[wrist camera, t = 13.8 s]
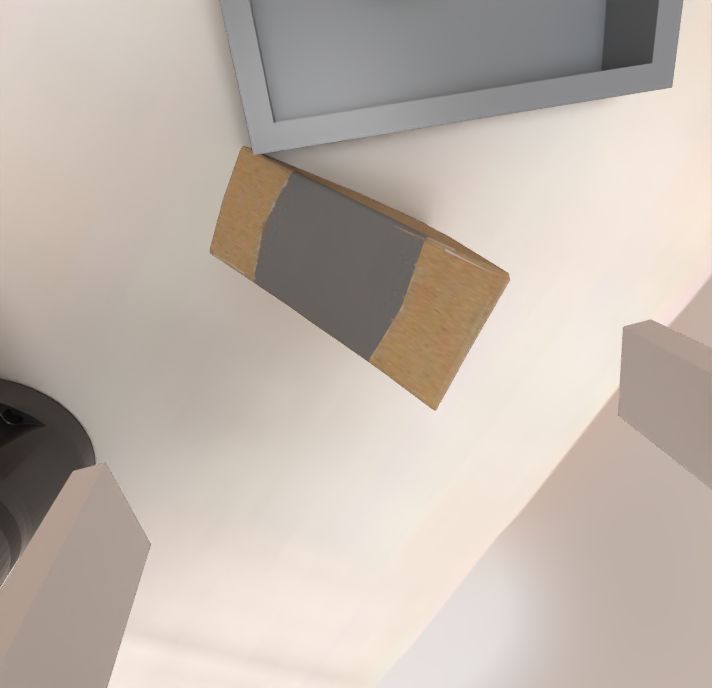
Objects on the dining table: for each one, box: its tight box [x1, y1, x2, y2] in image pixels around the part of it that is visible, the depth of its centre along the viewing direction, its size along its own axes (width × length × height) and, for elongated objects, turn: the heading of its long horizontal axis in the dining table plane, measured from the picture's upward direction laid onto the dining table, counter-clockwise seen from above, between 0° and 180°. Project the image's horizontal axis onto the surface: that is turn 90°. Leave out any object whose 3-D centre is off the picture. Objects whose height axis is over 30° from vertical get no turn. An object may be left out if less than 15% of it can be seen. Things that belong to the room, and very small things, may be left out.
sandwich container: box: [210, 147, 510, 410], centre depth 29 cm, size 9×15×15 cm, turn 67°
